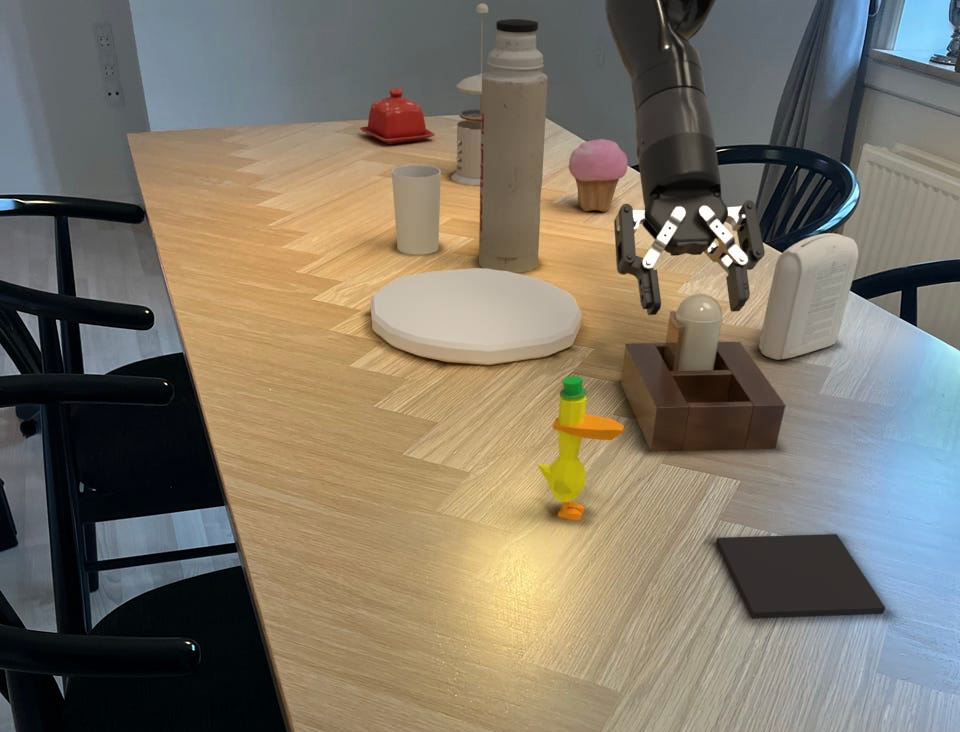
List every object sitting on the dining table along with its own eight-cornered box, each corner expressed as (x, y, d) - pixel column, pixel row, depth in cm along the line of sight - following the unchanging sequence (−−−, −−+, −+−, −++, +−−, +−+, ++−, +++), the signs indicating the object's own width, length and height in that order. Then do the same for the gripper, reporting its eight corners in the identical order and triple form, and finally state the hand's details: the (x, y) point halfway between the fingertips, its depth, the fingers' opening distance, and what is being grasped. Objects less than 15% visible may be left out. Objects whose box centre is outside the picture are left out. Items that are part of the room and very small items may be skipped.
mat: (835, 539, 80) (836, 533, 80) (883, 614, 72) (885, 607, 72) (715, 543, 79) (717, 537, 79) (751, 618, 72) (753, 612, 71)
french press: (441, 181, 164) (440, 4, 148) (468, 165, 172) (470, -3, 157) (495, 188, 161) (500, 9, 146) (520, 172, 170) (527, 1, 154)
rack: (732, 382, 104) (739, 341, 101) (775, 449, 92) (785, 404, 89) (620, 384, 103) (625, 343, 100) (650, 452, 91) (656, 407, 89)
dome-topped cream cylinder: (701, 389, 102) (718, 286, 95) (712, 409, 99) (731, 303, 92) (658, 390, 102) (672, 287, 95) (668, 409, 98) (683, 303, 92)
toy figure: (615, 509, 83) (631, 376, 76) (609, 531, 81) (625, 395, 73) (537, 498, 84) (545, 366, 77) (529, 520, 82) (536, 385, 74)
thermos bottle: (471, 269, 130) (473, 22, 112) (488, 251, 136) (494, 14, 118) (528, 276, 128) (540, 26, 111) (544, 258, 134) (558, 18, 116)
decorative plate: (618, 316, 107) (397, 339, 101) (614, 352, 109) (398, 377, 103) (539, 246, 125) (348, 262, 119) (537, 279, 128) (350, 296, 122)
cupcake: (619, 202, 156) (627, 133, 150) (625, 218, 149) (632, 147, 143) (564, 201, 156) (568, 132, 150) (566, 217, 149) (571, 145, 143)
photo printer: (812, 333, 115) (838, 223, 107) (841, 345, 112) (870, 233, 104) (751, 352, 110) (773, 238, 102) (780, 365, 107) (806, 249, 100)
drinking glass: (435, 239, 140) (434, 163, 134) (446, 253, 135) (446, 176, 129) (390, 242, 138) (386, 165, 132) (399, 257, 133) (396, 178, 127)
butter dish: (438, 141, 186) (437, 90, 181) (384, 148, 181) (382, 96, 176) (409, 129, 194) (408, 80, 188) (357, 135, 189) (354, 85, 183)
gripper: (617, 130, 92) (637, 295, 90) (760, 128, 94) (782, 289, 92) (597, 176, 99) (616, 329, 98) (730, 173, 101) (751, 323, 100)
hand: (697, 309), depth 95 cm, fingers open, 8 cm apart
